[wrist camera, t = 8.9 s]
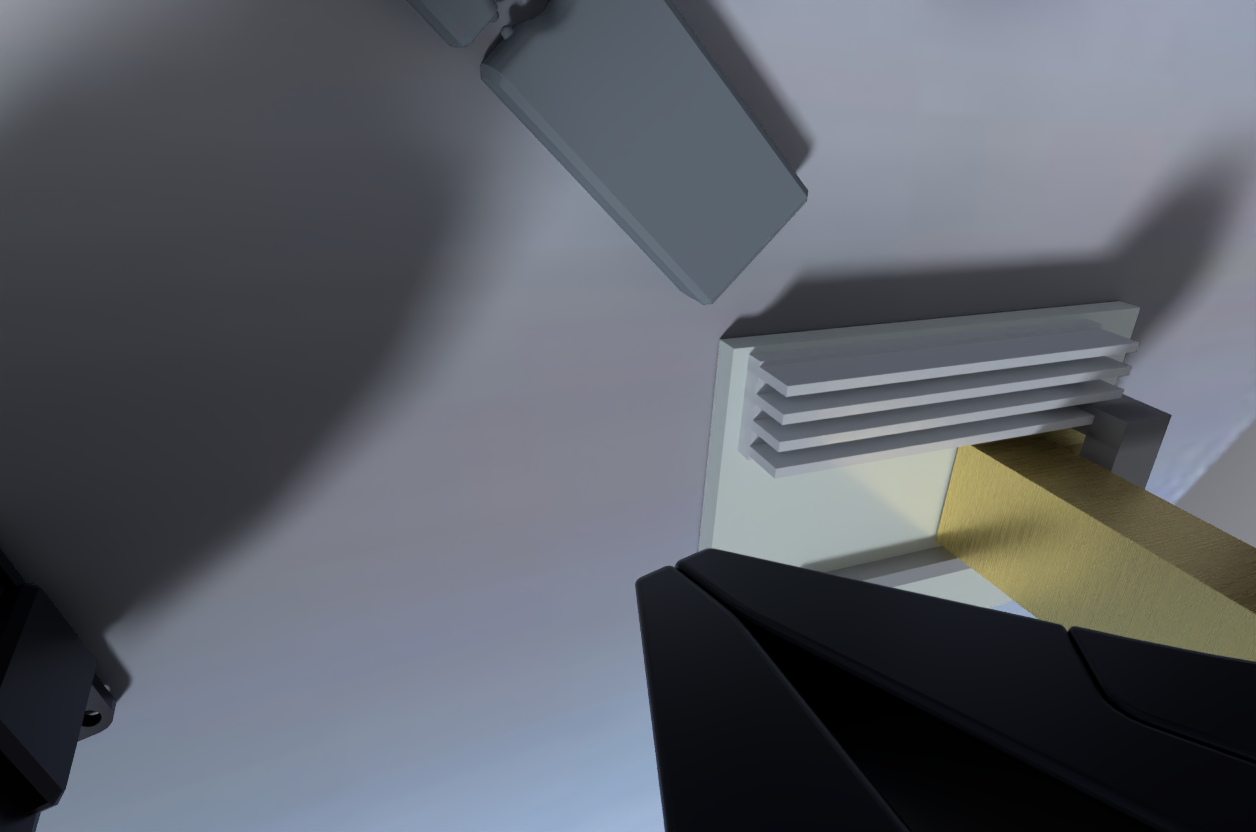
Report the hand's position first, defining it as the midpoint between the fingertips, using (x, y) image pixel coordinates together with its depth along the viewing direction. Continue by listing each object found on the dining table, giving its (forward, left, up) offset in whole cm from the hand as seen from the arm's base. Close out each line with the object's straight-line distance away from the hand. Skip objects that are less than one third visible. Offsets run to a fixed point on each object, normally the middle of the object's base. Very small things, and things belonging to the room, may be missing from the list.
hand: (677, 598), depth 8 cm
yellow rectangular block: (+17, -13, -12) cm, 25 cm away
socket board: (+13, -12, -13) cm, 22 cm away
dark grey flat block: (+5, +3, -14) cm, 15 cm away
